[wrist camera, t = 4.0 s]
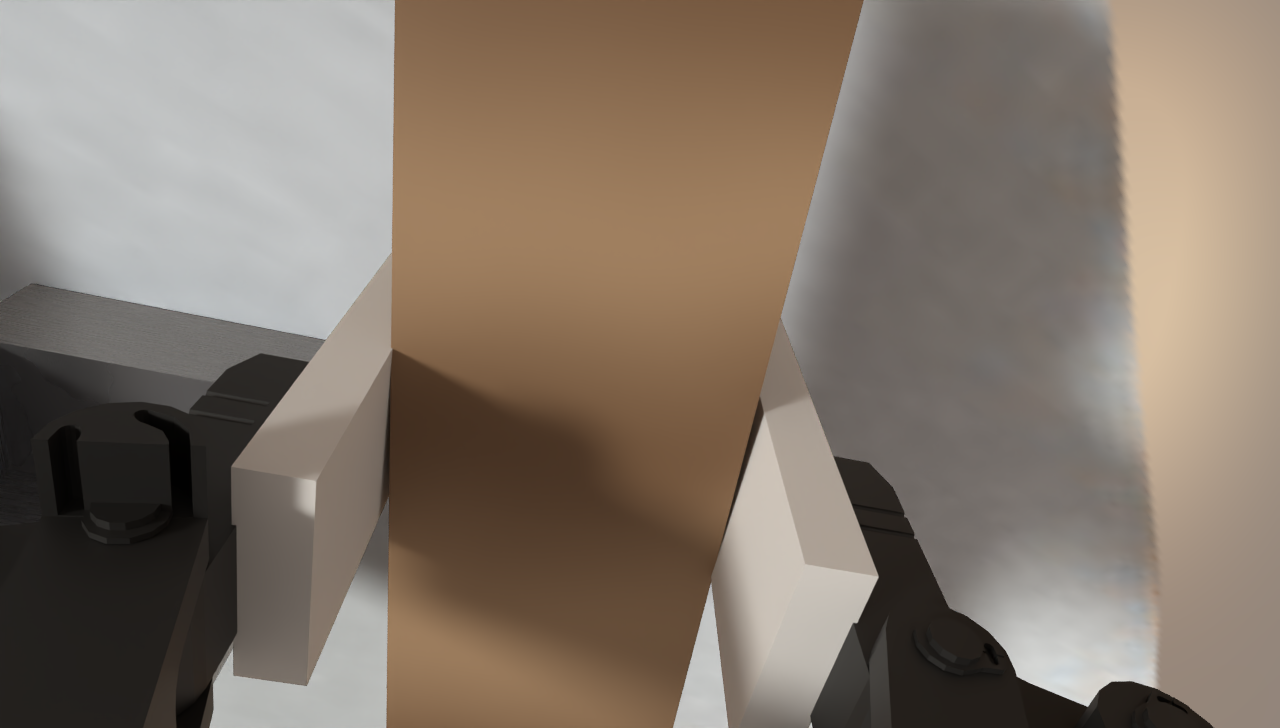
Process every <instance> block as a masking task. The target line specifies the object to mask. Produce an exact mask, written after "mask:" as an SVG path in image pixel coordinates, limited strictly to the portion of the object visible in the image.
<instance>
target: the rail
mask: <svg viewBox="0 0 1280 728" xmlns="http://www.w3.org/2000/svg"><path fill="white" fill-rule="evenodd" d="M863 1H864V0H395V49H394V134H393V219H392V304H391V348H392V360H391V389H390V473H389V558H388V643H387V728H673V725H674V721H675V717H676V713H677V710H678V706H679V702H680V698H681V694H682V690H683V687H684V683H685V679H686V675H687V671H688V668H689V664H690V660H691V656H692V652H693V649H694V645H695V641H696V637H697V633H698V630H699V626H700V622H701V618H702V614H703V610H704V607H705V603H706V599H707V595H708V591H709V588H710V584H711V575H712V572H713V570H714V567H715V564H716V561H717V557H718V553H719V549H720V546H721V542H722V538H723V534H724V530H725V527H726V523H727V519H728V515H729V511H730V508H731V504H732V500H733V496H734V492H735V488H736V485H737V481H738V477H739V473H740V469H741V466H742V462H743V458H744V454H745V450H746V447H747V443H748V439H749V435H750V431H751V428H752V424H753V420H754V416H755V412H756V408H757V405H758V401H759V397H760V393H761V389H762V386H763V382H764V378H765V374H766V370H767V367H768V363H769V359H770V355H771V351H772V347H773V344H774V340H775V336H776V332H777V328H778V325H779V321H780V317H781V313H782V309H783V306H784V302H785V298H786V294H787V290H788V287H789V283H790V279H791V275H792V271H793V267H794V264H795V260H796V256H797V252H798V248H799V245H800V241H801V237H802V233H803V229H804V226H805V222H806V218H807V214H808V210H809V206H810V203H811V199H812V195H813V191H814V187H815V184H816V180H817V176H818V172H819V168H820V165H821V161H822V157H823V153H824V149H825V146H826V142H827V138H828V134H829V130H830V126H831V123H832V119H833V115H834V111H835V107H836V104H837V100H838V96H839V92H840V88H841V85H842V81H843V77H844V73H845V69H846V65H847V62H848V58H849V54H850V50H851V46H852V43H853V39H854V35H855V31H856V27H857V24H858V20H859V16H860V12H861V8H862V4H863Z"/></svg>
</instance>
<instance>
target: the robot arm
mask: <svg viewBox="0 0 1280 728" xmlns="http://www.w3.org/2000/svg"><path fill="white" fill-rule="evenodd" d="M391 304H392V253H391V254H390V255H389V257H388V258H387V259H386V261H385V262H384V263H383V265H382V266H381V267H380V269H379V270H378V271H377V273H376V274H375V275H374V277H373V278H372V279H371V281H370V282H369V283H368V285H367V286H366V287H365V289H364V290H363V291H362V293H361V294H360V295H359V297H358V298H357V299H356V301H355V302H354V303H353V305H352V306H351V307H350V309H349V310H348V311H347V313H346V314H345V315H344V317H343V318H342V319H341V321H340V322H339V323H338V325H337V326H336V327H335V329H334V330H333V331H332V333H331V334H330V335H329V337H328V338H327V339H326V341H325V342H324V343H323V345H322V346H321V347H320V349H319V350H318V351H317V353H316V354H315V355H314V357H313V358H312V359H311V361H310V362H306V361H301V360H295V359H290V358H285V357H279V356H274V355H268V354H263V353H260V354H258V355H256V356H253V357H251V358H249V359H247V360H245V361H243V362H241V363H238V364H236V365H234V366H232V367H230V368H228V369H226V370H225V372H224V373H223V374H222V375H221V376H220V377H219V378H218V379H217V380H216V381H215V382H214V383H213V384H212V386H211V387H210V388H209V389H208V390H207V392H206V395H205V396H204V395H202V396H201V397H200V398H199V400H198V401H197V402H196V403H195V404H194V405H193V406H192V407H191V408H190V411H189V414H188V413H185V412H183V411H181V410H178V409H176V408H174V407H171V406H166V405H160V404H153V403H147V402H122V403H106V404H102V405H97V406H93V407H88V408H84V409H79V410H76V411H73V412H71V413H69V414H67V415H65V416H62V417H60V418H58V419H56V420H54V421H51V422H49V423H48V424H47V425H46V426H45V427H43V428H42V429H41V430H40V431H39V432H38V433H37V434H36V435H35V436H34V437H33V438H31V446H32V453H33V459H34V466H35V473H36V480H37V487H38V494H39V500H40V507H41V514H42V517H41V519H40V520H39V522H32V523H23V524H15V525H2V526H0V728H209V726H210V722H211V718H212V714H213V675H214V674H215V672H216V670H217V668H218V666H219V665H220V663H221V661H222V659H223V658H224V656H225V654H226V652H227V650H228V649H229V647H230V645H231V643H232V642H233V674H234V676H241V677H248V678H255V679H262V680H269V681H276V682H283V683H290V684H297V685H304V686H307V684H308V682H309V679H310V677H311V675H312V672H313V670H314V668H315V666H316V663H317V661H318V659H319V656H320V654H321V652H322V649H323V647H324V645H325V642H326V640H327V638H328V635H329V633H330V631H331V629H332V626H333V624H334V622H335V619H336V617H337V615H338V612H339V610H340V608H341V605H342V603H343V601H344V598H345V596H346V594H347V592H348V589H349V587H350V585H351V582H352V580H353V578H354V575H355V573H356V571H357V568H358V566H359V564H360V561H361V559H362V557H363V554H364V552H365V550H366V548H367V545H368V543H369V541H370V538H371V536H372V534H373V531H374V529H375V527H376V524H377V522H378V520H379V517H380V515H381V513H382V511H383V508H384V506H385V504H386V501H387V499H388V497H389V473H390V389H391V360H392V348H391ZM904 514H905V513H904V510H903V508H902V506H901V504H900V502H899V500H898V497H897V495H896V493H895V491H894V489H893V487H892V486H891V485H890V484H889V483H888V482H887V481H886V480H885V479H884V478H883V477H882V476H881V475H880V474H879V473H878V472H877V471H876V470H875V469H874V468H873V467H872V466H871V465H870V464H869V463H867V462H861V461H856V460H850V459H845V458H840V457H834V456H833V455H832V452H831V449H830V447H829V444H828V441H827V439H826V436H825V433H824V431H823V428H822V426H821V423H820V420H819V418H818V415H817V412H816V410H815V407H814V404H813V402H812V399H811V396H810V394H809V391H808V389H807V386H806V383H805V381H804V378H803V375H802V373H801V370H800V367H799V365H798V362H797V359H796V357H795V354H794V352H793V349H792V346H791V344H790V341H789V338H788V336H787V333H786V330H785V328H784V325H783V323H782V320H781V317H780V321H779V325H778V328H777V332H776V336H775V340H774V344H773V347H772V351H771V355H770V359H769V363H768V367H767V370H766V374H765V378H764V382H763V386H762V389H761V393H760V397H759V401H758V405H757V408H756V412H755V416H754V420H753V424H752V428H751V431H750V435H749V439H748V443H747V447H746V450H745V454H744V458H743V462H742V466H741V469H740V473H739V477H738V481H737V485H736V488H735V492H734V496H733V500H732V504H731V508H730V511H729V515H728V519H727V523H726V527H725V530H724V534H723V538H722V542H721V546H720V549H719V553H718V557H717V561H716V564H715V567H714V570H713V572H712V575H711V583H712V591H713V600H714V608H715V617H716V625H717V634H718V642H719V650H720V659H721V667H722V676H723V684H724V693H725V701H726V710H727V718H728V726H729V728H809V726H810V723H811V722H812V726H813V728H1213V727H1212V725H1211V724H1210V723H1208V722H1207V721H1206V720H1205V719H1203V718H1202V717H1201V716H1199V715H1198V714H1197V713H1195V712H1194V711H1193V710H1192V709H1190V708H1189V707H1188V706H1187V705H1186V704H1184V703H1182V702H1180V701H1179V700H1177V699H1175V698H1173V697H1171V696H1170V695H1168V694H1165V693H1163V692H1161V691H1160V690H1158V689H1155V688H1152V687H1149V686H1145V685H1142V684H1139V683H1135V682H1132V681H1127V682H1111V683H1109V684H1108V685H1106V686H1105V687H1103V688H1102V689H1101V690H1099V692H1098V693H1097V695H1096V696H1095V698H1094V699H1093V700H1092V702H1091V703H1090V705H1089V706H1088V707H1086V706H1084V705H1081V704H1079V703H1077V702H1074V701H1072V700H1069V699H1067V698H1064V697H1062V696H1059V695H1057V694H1055V693H1052V692H1050V691H1047V690H1045V689H1042V688H1040V687H1037V686H1035V685H1033V684H1030V683H1028V682H1026V681H1024V680H1022V679H1020V678H1018V677H1017V676H1016V672H1015V670H1014V667H1013V665H1012V663H1011V661H1010V659H1009V657H1008V655H1007V653H1006V651H1005V650H1004V649H1003V647H1002V646H1001V645H1000V644H999V643H998V642H997V641H996V640H995V638H994V637H993V636H992V635H991V634H990V633H989V632H988V631H987V630H985V629H984V628H982V627H981V626H980V625H978V624H977V623H975V622H974V621H973V620H971V619H970V618H969V617H967V616H965V615H963V614H961V613H958V612H956V611H954V610H952V609H950V608H949V607H948V605H947V603H946V601H945V599H944V596H943V594H942V592H941V590H940V588H939V586H938V584H937V581H936V579H935V577H934V575H933V573H932V571H931V568H930V566H929V564H928V562H927V560H926V558H925V556H924V553H923V551H922V549H921V547H920V545H919V543H918V540H917V539H914V532H913V530H912V528H911V525H910V523H909V521H908V519H907V518H904Z"/></svg>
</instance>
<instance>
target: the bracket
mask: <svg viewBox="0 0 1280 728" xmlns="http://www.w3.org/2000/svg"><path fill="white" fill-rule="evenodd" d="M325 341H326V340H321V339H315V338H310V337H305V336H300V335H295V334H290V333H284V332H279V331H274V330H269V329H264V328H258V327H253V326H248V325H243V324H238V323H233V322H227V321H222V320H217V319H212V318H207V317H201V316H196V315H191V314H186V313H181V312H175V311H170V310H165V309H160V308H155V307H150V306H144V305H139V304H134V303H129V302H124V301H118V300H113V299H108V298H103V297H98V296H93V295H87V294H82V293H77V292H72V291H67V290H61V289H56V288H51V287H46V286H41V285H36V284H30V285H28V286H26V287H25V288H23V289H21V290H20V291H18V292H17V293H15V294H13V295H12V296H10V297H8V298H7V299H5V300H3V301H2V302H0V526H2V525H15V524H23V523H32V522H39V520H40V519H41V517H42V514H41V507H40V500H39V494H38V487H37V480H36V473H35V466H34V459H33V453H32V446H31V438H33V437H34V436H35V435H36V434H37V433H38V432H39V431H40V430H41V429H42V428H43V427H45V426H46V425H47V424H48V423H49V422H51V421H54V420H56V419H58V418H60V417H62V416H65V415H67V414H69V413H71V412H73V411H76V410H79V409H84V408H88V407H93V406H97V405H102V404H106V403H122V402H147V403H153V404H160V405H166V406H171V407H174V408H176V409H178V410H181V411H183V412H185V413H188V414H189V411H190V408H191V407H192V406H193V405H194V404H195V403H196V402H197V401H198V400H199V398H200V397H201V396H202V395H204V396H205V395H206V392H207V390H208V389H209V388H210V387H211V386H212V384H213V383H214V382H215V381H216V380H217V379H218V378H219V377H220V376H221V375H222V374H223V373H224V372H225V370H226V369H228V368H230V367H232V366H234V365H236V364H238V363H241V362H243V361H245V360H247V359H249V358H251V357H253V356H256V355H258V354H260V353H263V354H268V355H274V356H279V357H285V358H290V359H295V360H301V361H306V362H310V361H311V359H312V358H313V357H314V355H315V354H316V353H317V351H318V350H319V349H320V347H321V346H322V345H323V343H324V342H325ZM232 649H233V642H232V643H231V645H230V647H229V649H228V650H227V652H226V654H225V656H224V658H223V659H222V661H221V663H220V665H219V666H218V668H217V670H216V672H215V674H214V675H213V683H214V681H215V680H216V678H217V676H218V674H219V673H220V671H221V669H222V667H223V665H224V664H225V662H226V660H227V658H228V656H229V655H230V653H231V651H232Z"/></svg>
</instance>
